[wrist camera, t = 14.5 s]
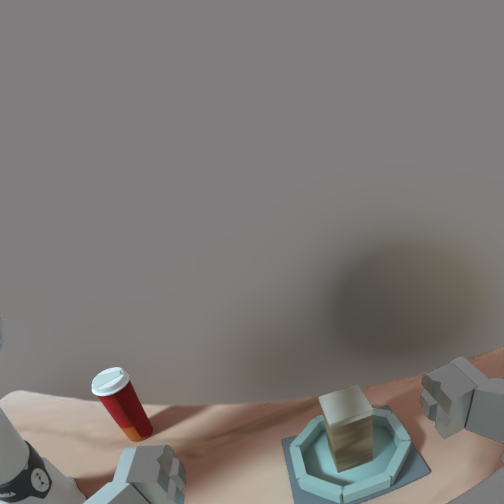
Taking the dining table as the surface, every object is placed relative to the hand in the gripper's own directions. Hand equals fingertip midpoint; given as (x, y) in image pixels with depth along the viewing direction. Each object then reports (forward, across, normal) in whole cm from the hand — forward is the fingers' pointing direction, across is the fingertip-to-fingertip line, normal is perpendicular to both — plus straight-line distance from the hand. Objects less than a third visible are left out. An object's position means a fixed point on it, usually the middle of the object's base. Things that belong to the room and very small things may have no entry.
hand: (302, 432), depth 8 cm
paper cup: (+36, +30, +32) cm, 57 cm away
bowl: (+20, -6, +32) cm, 38 cm away
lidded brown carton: (+20, -6, +30) cm, 37 cm away
